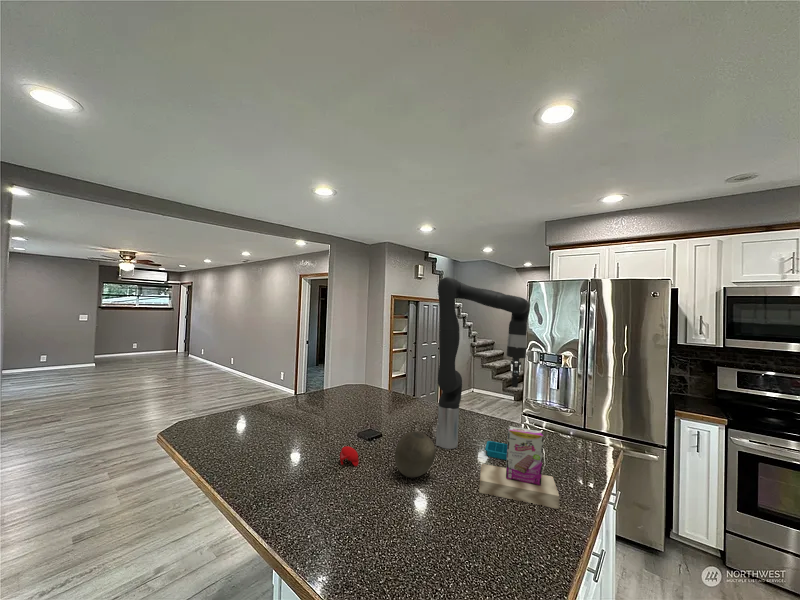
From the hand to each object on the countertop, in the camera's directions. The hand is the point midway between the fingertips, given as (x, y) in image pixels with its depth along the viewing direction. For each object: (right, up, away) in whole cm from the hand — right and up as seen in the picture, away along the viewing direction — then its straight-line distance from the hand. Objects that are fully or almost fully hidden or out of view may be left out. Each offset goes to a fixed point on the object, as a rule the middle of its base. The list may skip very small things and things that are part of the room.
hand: (514, 385), depth 133 cm
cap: (-66, -27, -11) cm, 72 cm away
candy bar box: (-5, -26, -24) cm, 36 cm away
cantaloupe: (-42, -28, -17) cm, 53 cm away
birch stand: (-7, -30, -23) cm, 38 cm away
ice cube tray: (0, -32, +5) cm, 32 cm away
